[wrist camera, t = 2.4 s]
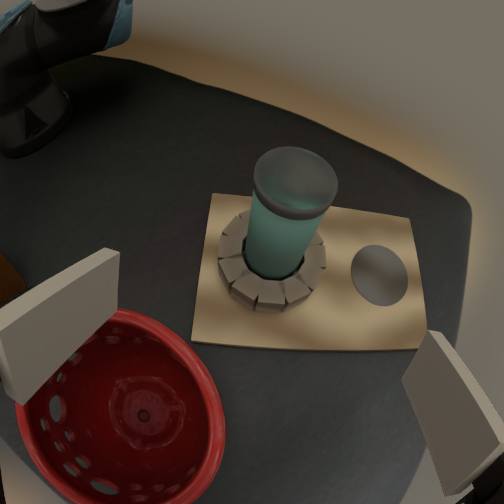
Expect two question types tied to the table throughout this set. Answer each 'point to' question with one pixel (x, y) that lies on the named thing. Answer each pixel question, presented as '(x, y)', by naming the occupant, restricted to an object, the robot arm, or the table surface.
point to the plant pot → (129, 418)
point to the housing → (312, 286)
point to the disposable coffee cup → (9, 280)
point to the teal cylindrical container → (286, 209)
